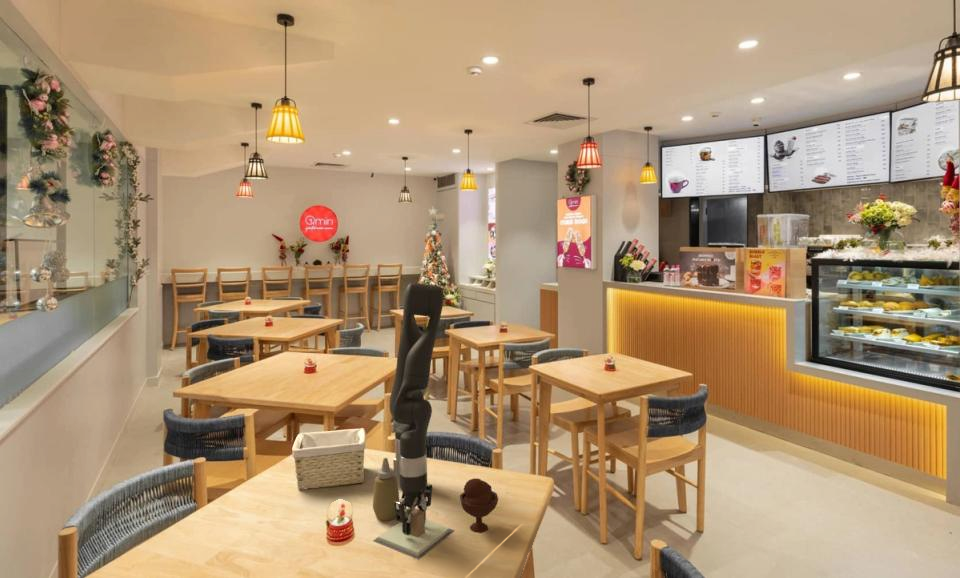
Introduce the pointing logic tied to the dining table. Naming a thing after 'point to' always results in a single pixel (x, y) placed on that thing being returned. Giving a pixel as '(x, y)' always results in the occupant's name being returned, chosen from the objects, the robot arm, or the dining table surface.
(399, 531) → the cover
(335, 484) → the storage basket
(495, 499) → the ice cream bowl
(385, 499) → the squeeze bottle
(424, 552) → the mat
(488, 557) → the dining table surface
